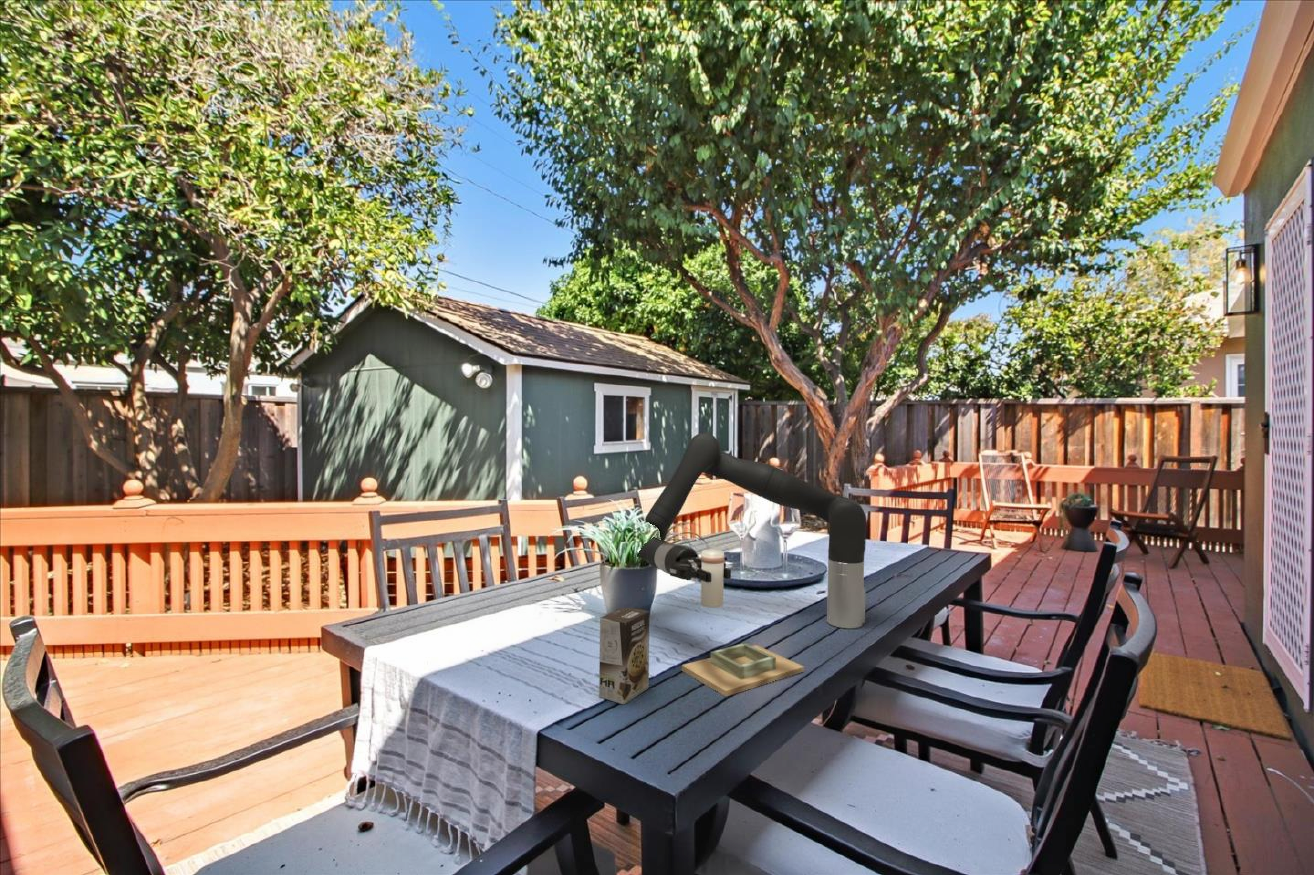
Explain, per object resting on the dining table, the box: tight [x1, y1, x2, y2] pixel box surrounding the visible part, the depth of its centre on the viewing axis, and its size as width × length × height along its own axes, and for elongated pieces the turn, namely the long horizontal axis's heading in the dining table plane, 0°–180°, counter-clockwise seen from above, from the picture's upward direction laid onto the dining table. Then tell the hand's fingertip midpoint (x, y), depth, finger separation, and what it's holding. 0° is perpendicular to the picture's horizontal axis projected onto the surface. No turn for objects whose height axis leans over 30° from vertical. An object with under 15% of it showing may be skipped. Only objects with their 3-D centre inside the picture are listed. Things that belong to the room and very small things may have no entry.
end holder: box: [681, 642, 805, 697], centre depth 139 cm, size 22×15×4 cm
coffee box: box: [598, 606, 650, 705], centre depth 128 cm, size 9×6×16 cm
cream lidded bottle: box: [700, 548, 725, 609], centre depth 144 cm, size 5×5×12 cm
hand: (719, 576), depth 142 cm, fingers closed on cream lidded bottle, 5 cm apart
